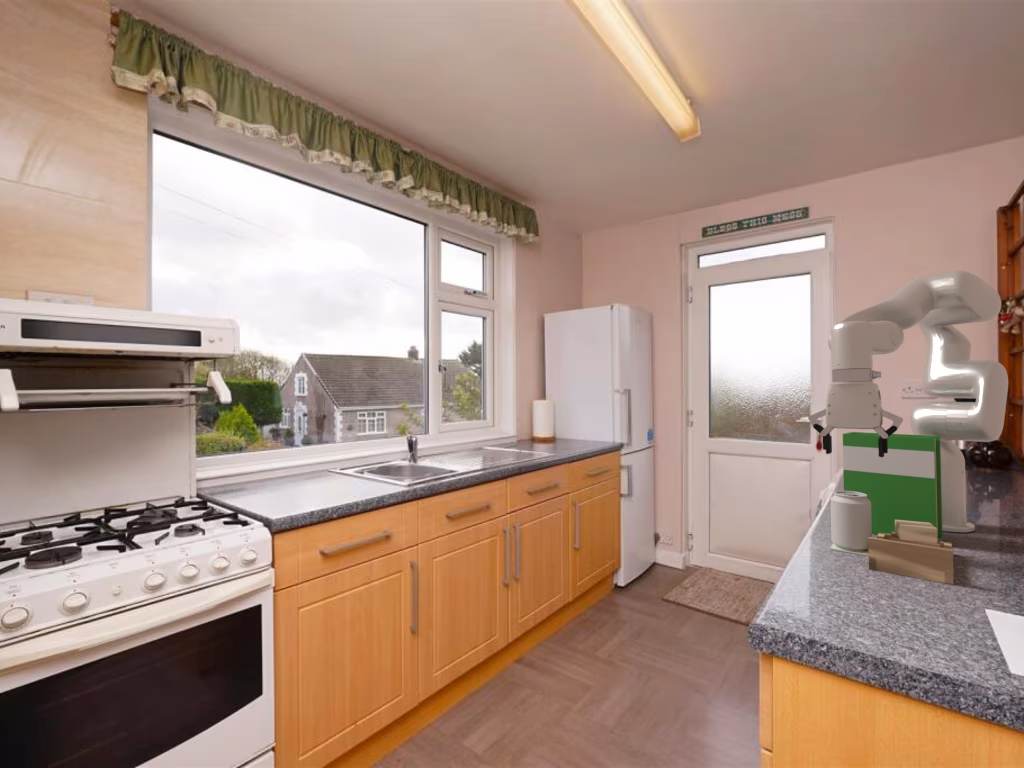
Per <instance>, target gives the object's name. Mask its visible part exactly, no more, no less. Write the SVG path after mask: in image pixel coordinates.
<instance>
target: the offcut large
mask: <svg viewBox="0 0 1024 768" xmlns="http://www.w3.org/2000/svg"><path fill="white" fill-rule="evenodd" d="M890 540H893V541H900V542H906V543H913V544H919V545H926V546H933V547H939V548H940V541H941V540H940V538H937V543H928V542H918V541H909V540H900V538H899V537H898V536H897V535H896V534H895V532H892V533H891V536H890Z"/></svg>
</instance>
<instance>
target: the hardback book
mask: <svg viewBox="0 0 1024 768" xmlns="http://www.w3.org/2000/svg"><path fill="white" fill-rule="evenodd" d="M879 438H880V435H879V434H878V433H877V432H858V431H850V432H844V433H842V464H843V465H842V467H843V468H842V469H843V471H842V472H843V491H854V492H860V493H864V494H867V498H868V499H869V500H870V501H871V518H872V534H873V535H872V536H878V533H886V534H891V533H892V532H895V520H905V521H916V522H928V523H931V524H932V525H933V526H934V527H936V528H937V538H940V539H942V540H944V539H943V538H944V537H943V531H942V492H941V450H940V436H928V435H913V434H907V433H906V434H905V433H893V434H892V435H890V436H889V437H888V438H887V442H888V453H884V457H879V450H878V439H879Z"/></svg>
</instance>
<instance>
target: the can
mask: <svg viewBox="0 0 1024 768" xmlns="http://www.w3.org/2000/svg"><path fill="white" fill-rule="evenodd" d="M833 494H834V495H833V496H831V497H830V500H829V501H830V525H831V526H830V537H831V538H830V540H831V542H832V544H833V543H834V544H835V545H836V546H837V547H839V548H842V549H846V550H851V551H867V550H868V538H869V537H873V535H872V518H871V501H870V500H869V499H868V498H867V494H864V493H860V492H854V491H844V490H835V491H834V492H833Z"/></svg>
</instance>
